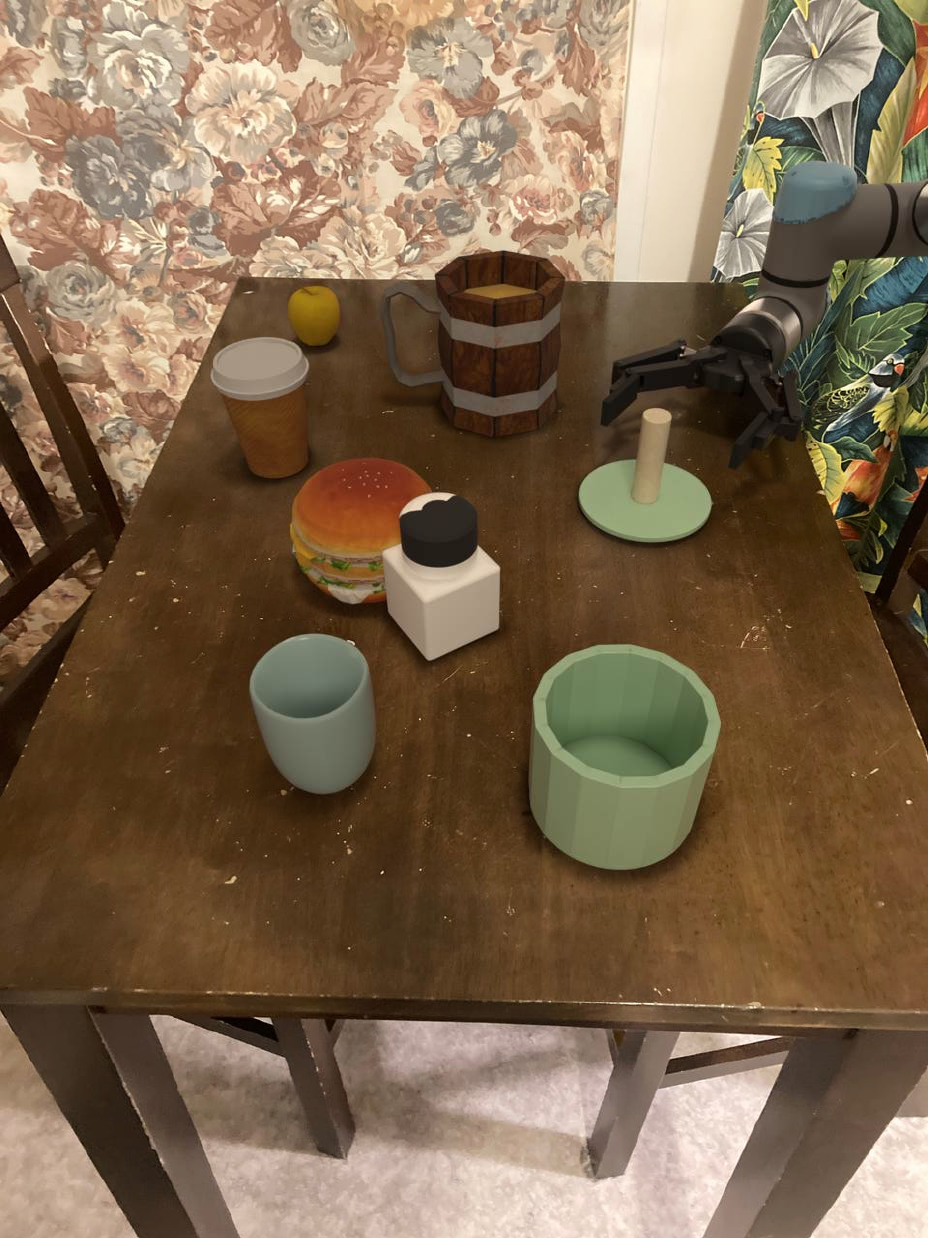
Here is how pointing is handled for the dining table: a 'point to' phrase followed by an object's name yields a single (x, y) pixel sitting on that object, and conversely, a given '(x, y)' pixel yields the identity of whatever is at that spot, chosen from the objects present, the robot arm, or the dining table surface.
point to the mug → (490, 340)
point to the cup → (315, 711)
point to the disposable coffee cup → (266, 402)
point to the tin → (620, 754)
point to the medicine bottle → (441, 576)
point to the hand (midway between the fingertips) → (667, 434)
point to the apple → (314, 314)
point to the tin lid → (646, 491)
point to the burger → (352, 525)
